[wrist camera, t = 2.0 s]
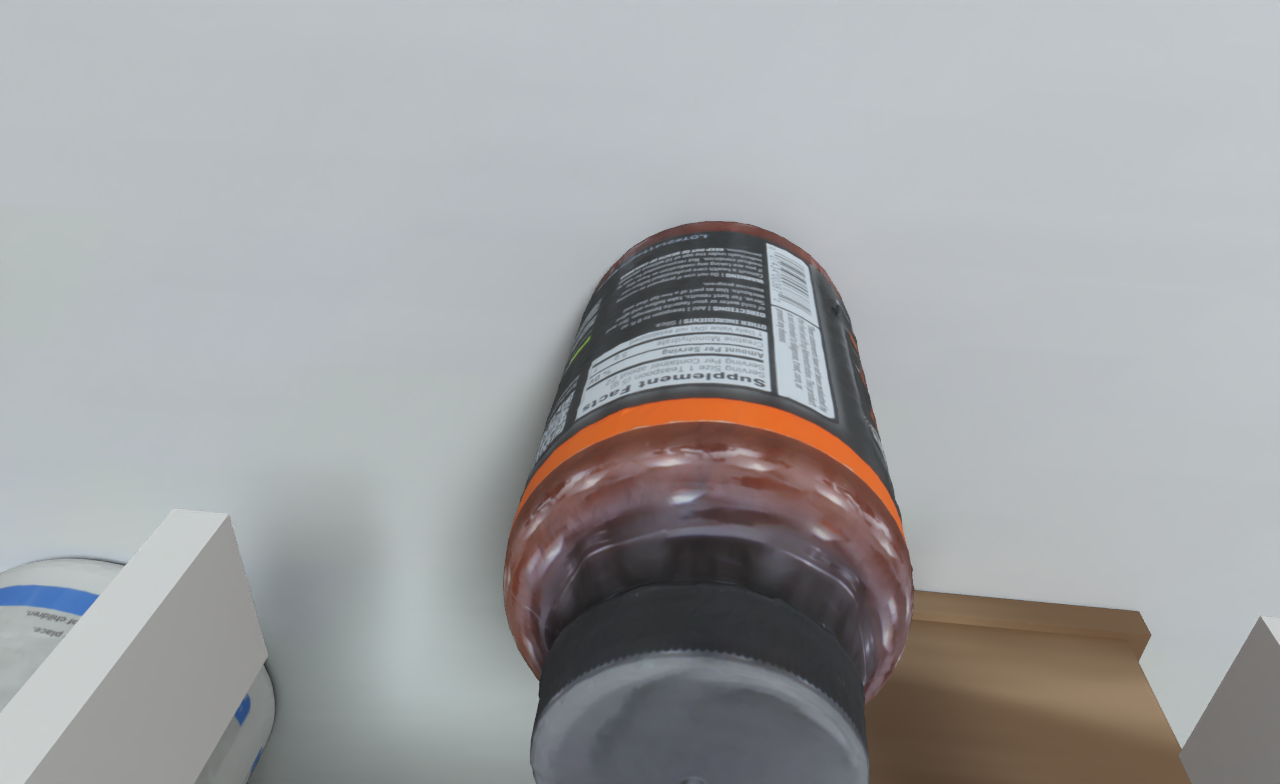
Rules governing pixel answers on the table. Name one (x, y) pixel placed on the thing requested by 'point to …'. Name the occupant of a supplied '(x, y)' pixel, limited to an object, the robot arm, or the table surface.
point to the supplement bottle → (709, 528)
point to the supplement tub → (49, 608)
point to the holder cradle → (1020, 698)
